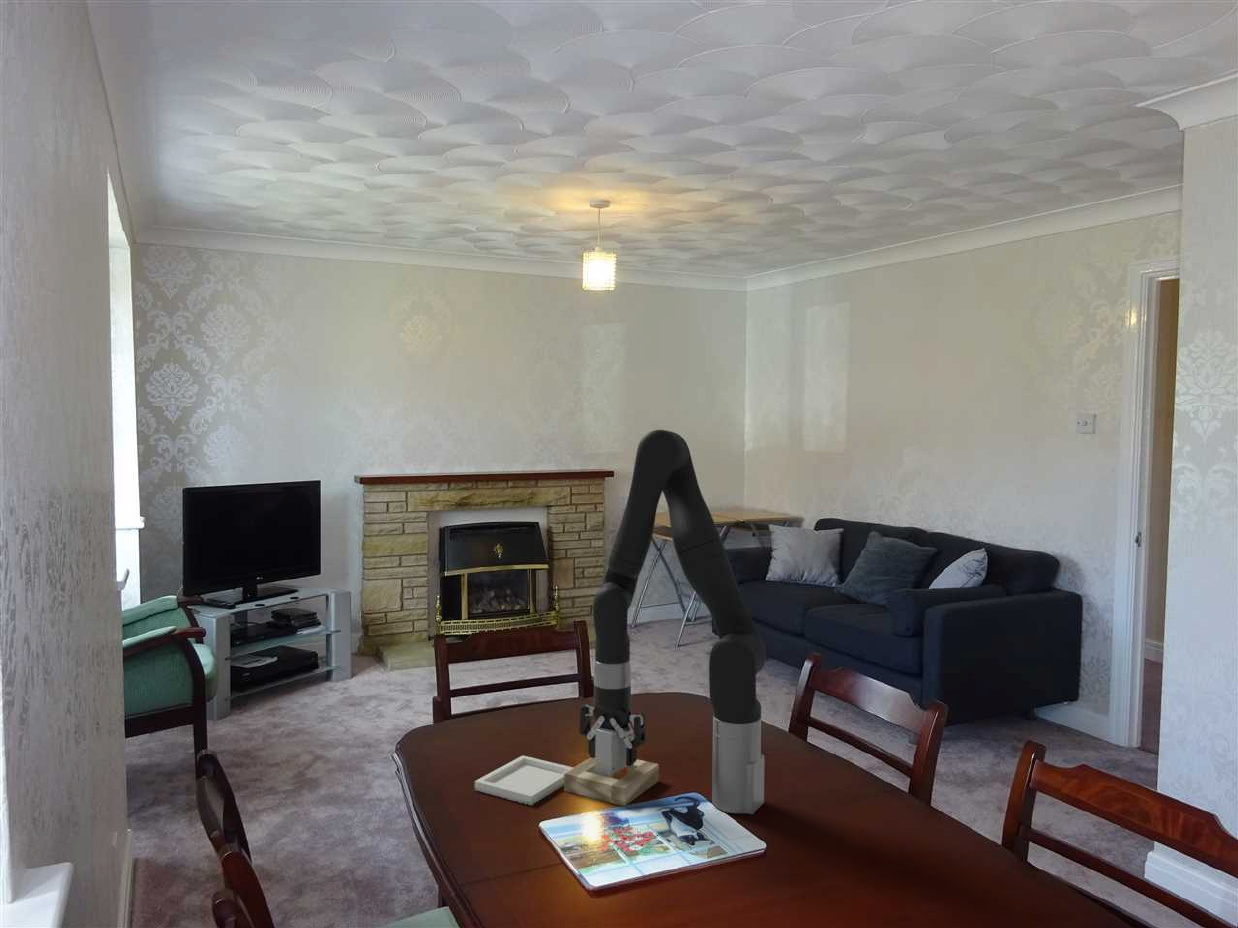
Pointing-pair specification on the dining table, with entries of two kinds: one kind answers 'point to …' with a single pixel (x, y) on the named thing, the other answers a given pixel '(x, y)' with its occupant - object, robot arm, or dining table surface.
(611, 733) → the skincare box
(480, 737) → the dining table surface
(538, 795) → the grey tray
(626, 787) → the frame
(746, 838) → the dining table surface
